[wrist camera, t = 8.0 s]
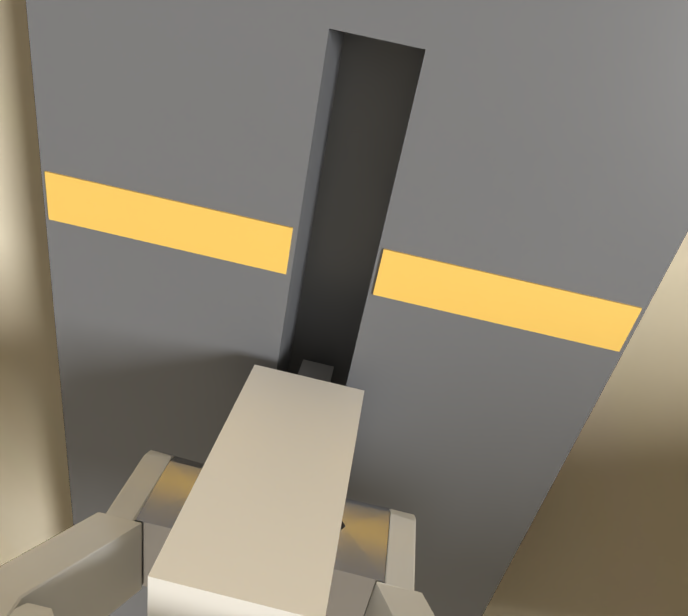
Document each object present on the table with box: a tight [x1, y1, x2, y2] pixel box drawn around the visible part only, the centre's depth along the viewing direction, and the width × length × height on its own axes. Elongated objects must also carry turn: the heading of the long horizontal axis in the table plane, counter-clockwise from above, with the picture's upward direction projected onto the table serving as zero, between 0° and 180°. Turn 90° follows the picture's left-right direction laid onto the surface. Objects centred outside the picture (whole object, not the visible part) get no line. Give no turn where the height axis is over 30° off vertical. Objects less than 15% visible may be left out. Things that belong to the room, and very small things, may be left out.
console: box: [26, 0, 688, 616], centre depth 17 cm, size 12×32×3 cm, turn 169°
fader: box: [147, 359, 364, 616], centre depth 11 cm, size 2×4×7 cm, turn 169°
